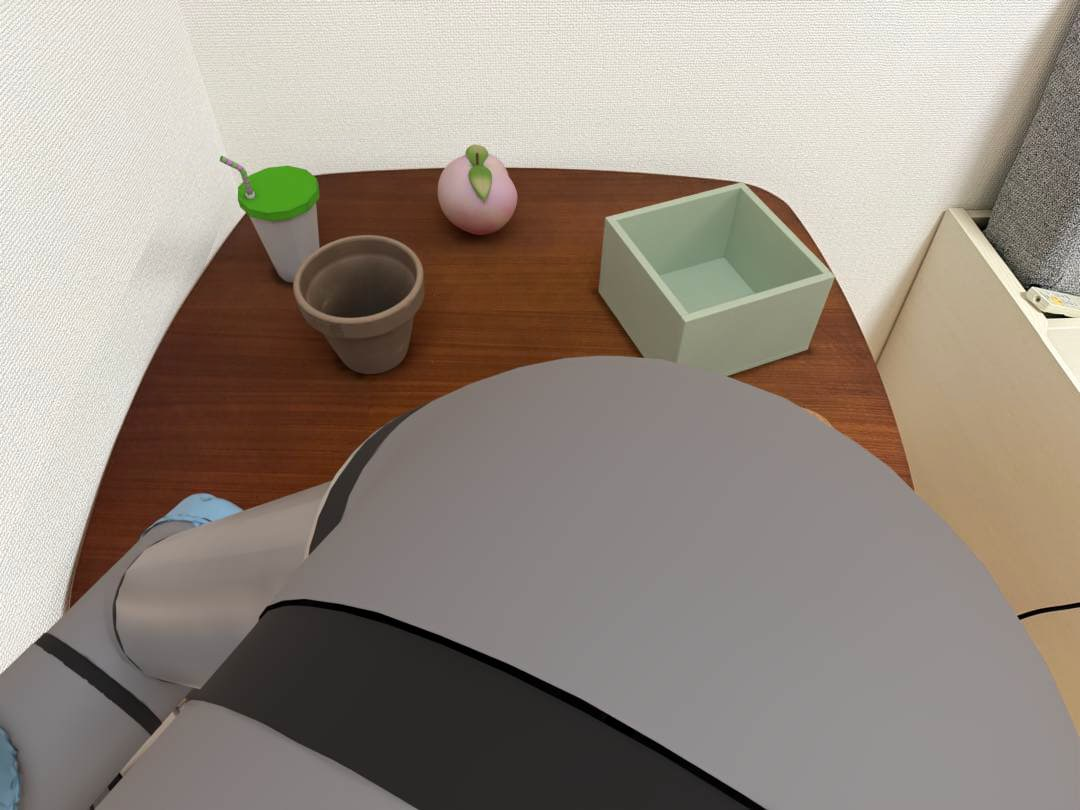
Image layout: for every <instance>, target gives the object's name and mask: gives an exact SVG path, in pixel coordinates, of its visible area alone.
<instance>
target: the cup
mask: <svg viewBox="0 0 1080 810" xmlns="http://www.w3.org/2000/svg"><path fill="white" fill-rule="evenodd" d="M219 163H223V164H224V165H226V166H229V167H230V168H232V169H234V170H236V171H238V172H239V173H240V176H241V180H242V182H241V183H240V184H239V186H238V187H237V201H238V205H239V207H240V209H241V210H243V212H245V214H246V215H248V217H249V219H250V221H251V223H252V226H253V227H254V229H255V231H256V232H257V233H256V234H257V235H258V237H259V239H260V241H261V242H262V245H263V247H264V249H265V251H266V253H267V256H268V257H269V259H270V261H271V263H272V265H273V267H274V269H275V271H276V273H277V275H278V276H279V278H280V279H282V280H283V282H285V283H291V284H293V282H294V277H295V274H296V272H297V270H298V268H299V267H300V265H301V264H302V262H303V261H304V260H305V259H306V258H307V257H308V256H309V255H311V254H312V253H313V252H314V251H316V250H317V249H319V248H321V247H320V237H319V236H320V235H319V224H318V210H317V202H318V201H319V200H320V186H319V181H318V178H317V177H316V176H315V175H313V173H311V172H310V171H309V170H308V169H306V168H300V167H296V166H292V165H281V166H271V167H266V168H263V169H261V170H258V171H257V172H255V173H252V174H249V175H248V172H247V170H246V168H244V166H243V165H242V164H239V163H237V162H235V161H233V160H232V159H229V158H227V157H225V156H223V155H220V157H219Z"/></svg>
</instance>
